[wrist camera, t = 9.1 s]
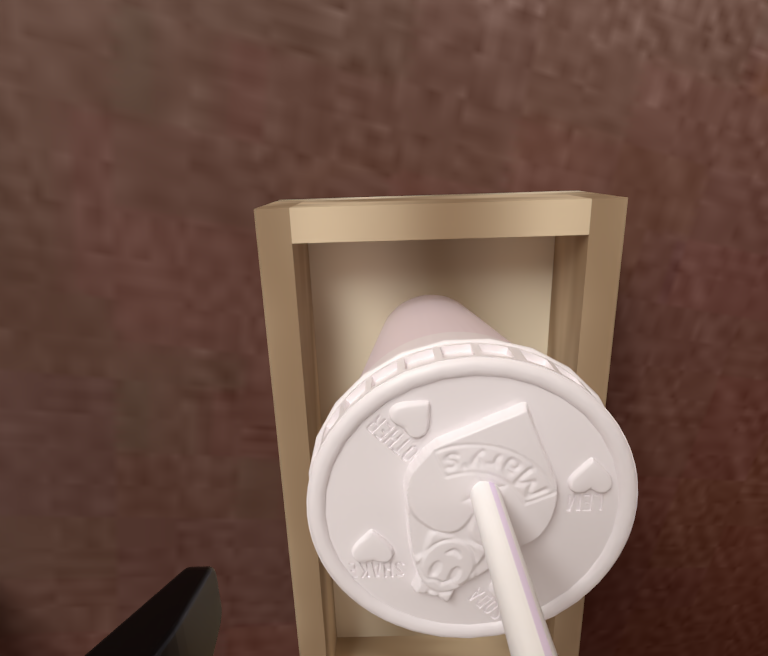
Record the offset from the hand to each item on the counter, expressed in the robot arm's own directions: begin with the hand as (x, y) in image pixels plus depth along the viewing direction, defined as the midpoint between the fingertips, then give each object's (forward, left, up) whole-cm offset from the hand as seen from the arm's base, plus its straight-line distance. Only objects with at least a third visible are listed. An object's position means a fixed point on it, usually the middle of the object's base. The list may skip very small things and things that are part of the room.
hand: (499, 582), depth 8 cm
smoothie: (0, 0, -12) cm, 12 cm away
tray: (0, -5, -12) cm, 13 cm away
